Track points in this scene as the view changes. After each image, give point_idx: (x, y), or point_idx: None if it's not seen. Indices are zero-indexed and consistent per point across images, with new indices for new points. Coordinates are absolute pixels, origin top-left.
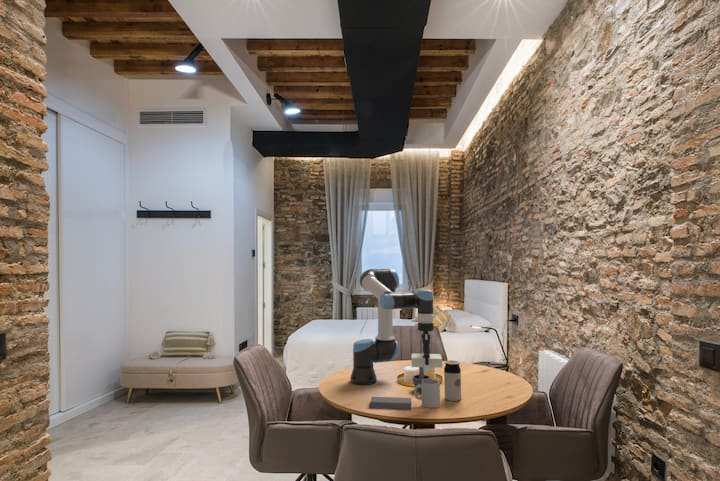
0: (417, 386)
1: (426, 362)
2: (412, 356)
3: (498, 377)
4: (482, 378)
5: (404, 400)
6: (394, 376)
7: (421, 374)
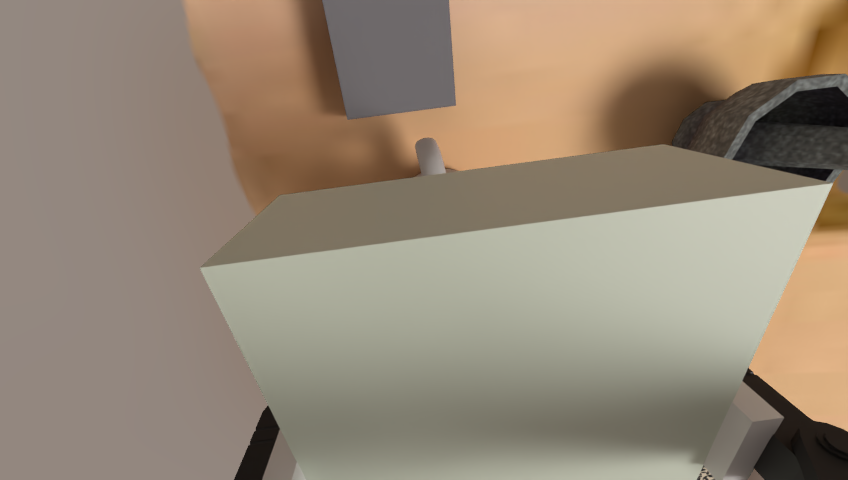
0: (423, 173)
1: (258, 443)
2: (436, 258)
3: (825, 421)
4: (832, 379)
5: (391, 64)
6: None
7: (830, 152)
